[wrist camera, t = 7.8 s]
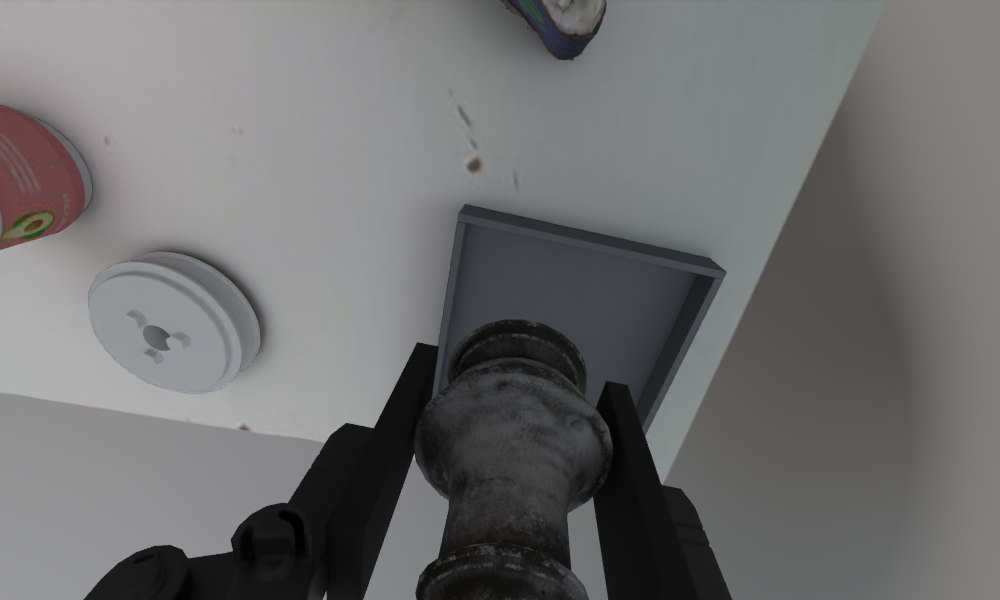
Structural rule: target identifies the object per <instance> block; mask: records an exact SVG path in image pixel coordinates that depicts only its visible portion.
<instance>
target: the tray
mask: <svg viewBox="0 0 1000 600" xmlns="http://www.w3.org/2000/svg"><path fill="white" fill-rule="evenodd" d="M726 273H727V272H726V271H725V270H724V269H722V268H721V267H720V266H719V265H717V264H716V263H715V262H714V261H713V260H712V259H710V258H707V257H702V256H698V255H693V254H688V253H684V252H679V251H675V250H670V249H666V248H661V247H657V246H652V245H648V244H643V243H639V242H634V241H630V240H625V239H620V238H616V237H611V236H607V235H602V234H598V233H593V232H589V231H584V230H580V229H575V228H571V227H566V226H562V225H557V224H553V223H548V222H543V221H539V220H534V219H530V218H525V217H521V216H516V215H512V214H507V213H503V212H498V211H494V210H489V209H485V208H480V207H475V206H471V205H466V204H465V205H464V207H463V208H462V210H461V211H460V212H459V214H458V222H457V227H456V233H455V240H454V246H453V253H452V259H451V265H450V272H449V278H448V285H447V291H446V298H445V304H444V311H443V317H442V323H441V330H440V336H439V343H438V347H439V350H438V358H437V365H436V372H435V379H434V387H433V394H432V399H433V398H434V397H435V396H437V395H438V394H439V393H440V392H441V391H442V390H443V389H445V388H446V387H447V386H448V384H447V376H446V373H447V368H448V363H449V358H450V356H451V355H452V353H453V351H454V349H455V348H456V346H457V344H458V343H459V342H460V341H461V340H462V339H463V338H464V337H465V336H466V335H468V334H469V333H470V332H471V331H473V330H475V329H477V328H479V327H481V326H483V325H485V324H488V323H492V322H496V321H500V320H505V319H522V320H529V321H533V322H537V323H542V324H545V325H547V326H549V327H551V328H553V329H555V330H557V331H559V332H561V333H562V334H563V335H564V336H565V337H567V338H568V339H569V340H570V341H571V342H572V343H573V344H575V346H576V347H577V349H578V351H579V352H580V354H581V355H582V357H583V358H584V361H585V365H586V369H587V373H588V388H587V393H586V396H585V398H586V399H587V401H588V402H589V403H590V404H592V405H593V406H594V407H595V408H596V406H597V403H598V400H599V398H600V395H601V393H602V390H603V388H604V385H605V383H606V381H610V382H615V383H620V384H625V385H628V388H629V390H630V393H631V396H632V399H633V402H634V405H635V408H636V411H637V414H638V417H639V420H640V423H641V426H642V429H643V432H644V435H646V433H647V431H648V429H649V427H650V425H651V423H652V421H653V419H654V417H655V415H656V413H657V411H658V409H659V407H660V405H661V403H662V401H663V399H664V397H665V395H666V393H667V391H668V389H669V387H670V385H671V383H672V381H673V379H674V377H675V375H676V373H677V371H678V369H679V367H680V365H681V363H682V361H683V359H684V357H685V355H686V353H687V351H688V349H689V347H690V345H691V343H692V341H693V339H694V337H695V335H696V333H697V331H698V329H699V327H700V325H701V323H702V321H703V319H704V317H705V315H706V313H707V311H708V309H709V307H710V305H711V303H712V301H713V299H714V297H715V295H716V293H717V291H718V289H719V287H720V285H721V283H722V281H723V279H724V277H725V275H726Z"/></svg>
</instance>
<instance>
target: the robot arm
mask: <svg viewBox="0 0 1000 600" xmlns="http://www.w3.org/2000/svg"><path fill="white" fill-rule="evenodd" d="M438 350H439V347H438V346H433V345H428V344H423V343H418V342H417V344H416V346H415V348H414V350H413V352H412V354H411V356H410V358H409V360H408V362H407V364H406V366H405V368H404V370H403V372H402V374H401V376H400V378H399V380H398V382H397V384H396V386H395V388H394V390H393V392H392V394H391V396H390V398H389V399H388V401H387V403H386V405H385V407H384V409H383V411H382V413H381V415H380V417H379V419H378V421H377V423H376V425H375V427H374V428H369V427H364V426H359V425H354V424H349V423H346V424H344V425H343V426H342V427H340V428H339V429H338V430H337V431H335V432H334V433H333V434H331V435H330V437H329V438H328V440H327V442H326V443H325V445H324V446H323V448H322V450H321V451H320V454H319V455H318V456H317V457H316V459H315V461H314V462H313V464H312V466H311V469H309V470H308V472H307V473H306V475H305V477H304V478H303V480H302V481H301V483H300V485H299V486H298V488H297V489H296V491H295V492H294V494H293V496H292V497H291V499H290V501H289V502H288V503H278V504H274V505H270V506H266V507H264V508H262V509H260V510H258V511H257V512H255V513H253V514H251V515H250V516H249V517H248V518H247V519H246V520H245V521H244V522H243V523H242V524H240V525H239V527H238V528H237V530H236V532H235V534H234V535H233V537H232V538H231V543H232V548H233V551H232V552H228V553H223V554H216V555H209V556H202V557H195V558H187V556H186V555H185V553H184V552H183V550H182V549H179V548H176V547H174V546H171V545H163V546H153V547H151V548H147V549H144V550H142V551H139V552H136V553H134V554H133V555H131V556H129V557H128V558H126V559H124V560H123V561H121V562H119V563H118V564H117V565H116V566H115V567H114V568H113V569H112V570H110V571H109V572H108V573H107V574H106V575H105V576H104V577H103V578H102V579H101V580H100V581H99V582H98V583H97V585H96V586H95V587H94V588H93V589H92V591H91V592H90V593H89V594H88V595H87V596H86V597H85V599H84V600H323V597H324V595H325V592H326V590H327V600H363V598H364V595H365V593H366V590H367V587H368V584H369V581H370V578H371V575H372V573H373V569H374V567H375V564H376V561H377V558H378V555H379V553H380V550H381V547H382V544H383V541H384V538H385V536H386V533H387V530H388V527H389V524H390V521H391V518H392V515H393V513H394V510H395V507H396V504H397V501H398V499H399V495H400V493H401V490H402V487H403V484H404V481H405V479H406V476H407V472H408V469H409V467H410V464H411V461H412V459H413V456H414V447H413V438H414V432H415V426H416V423H417V421H418V419H419V417H420V415H421V414H422V412H423V410H424V408H425V407H426V405H427V404H428V403H429V402H430V401H431V400H432V394H433V387H434V379H435V372H436V365H437V358H438ZM596 409H597V411H598V412H599V414H600V415H601V417H602V418H603V420H604V421H605V423H606V424H607V426H608V428H609V432H610V436H611V440H612V444H613V448H614V453H613V461H612V466H611V470H610V472H609V474H608V476H607V478H606V480H605V482H604V484H603V486H602V487H601V488H600V489H599V491H598V492H597V493H596V494H595V495H594V496H593V500H594V507H595V513H596V521H597V527H598V534H599V540H600V547H601V554H602V561H603V567H604V574H605V580H606V587H607V594H608V600H732V598H731V596H730V593H729V591H728V588H727V586H726V583H725V581H724V578H723V576H722V573H721V571H720V568H719V566H718V563H717V561H716V558H715V556H714V553H713V551H712V549H711V547H709V541H708V539H707V536H706V534H705V531H703V526H702V524H701V521H700V519H699V516H698V514H697V511H696V509H695V507H694V506H693V504H692V503H691V501H690V500H689V499H688V497H687V496H686V495H685V494H684V492H683V491H682V490H681V489H679V488H674V487H669V486H664V485H661V483H660V480H659V477H658V474H657V471H656V468H655V465H654V462H653V459H652V456H651V453H650V450H649V447H648V444H647V441H646V438H645V435H644V432H643V429H642V426H641V423H640V420H639V417H638V414H637V411H636V408H635V405H634V402H633V399H632V396H631V393H630V390H629V388H628V385H625V384H620V383H615V382H610V381H606V383H605V385H604V388H603V390H602V393H601V395H600V398H599V400H598V403H597V406H596Z"/></svg>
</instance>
